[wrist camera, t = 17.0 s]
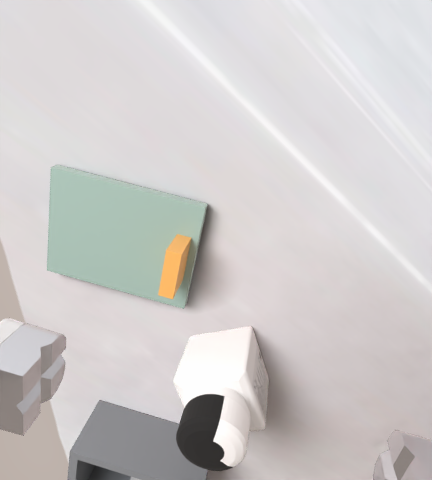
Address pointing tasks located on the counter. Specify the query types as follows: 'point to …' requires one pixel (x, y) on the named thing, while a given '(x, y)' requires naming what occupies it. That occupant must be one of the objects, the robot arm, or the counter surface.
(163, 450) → the tub
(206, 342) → the container
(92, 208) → the lid
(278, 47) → the counter surface
